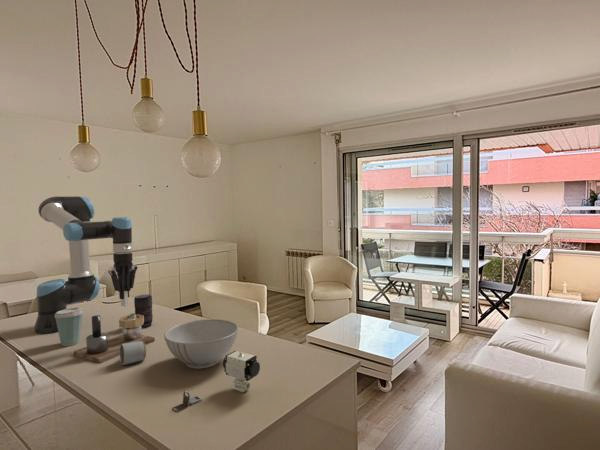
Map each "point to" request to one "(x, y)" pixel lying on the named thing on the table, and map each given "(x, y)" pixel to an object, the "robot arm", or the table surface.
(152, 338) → the board
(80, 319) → the disposable coffee cup
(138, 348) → the ceramic mug
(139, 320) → the ring
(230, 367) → the pneumatic valve
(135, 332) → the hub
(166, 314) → the table surface
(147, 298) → the camera lens
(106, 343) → the nail polish bottle
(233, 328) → the decorative bowl
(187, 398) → the strap clip
